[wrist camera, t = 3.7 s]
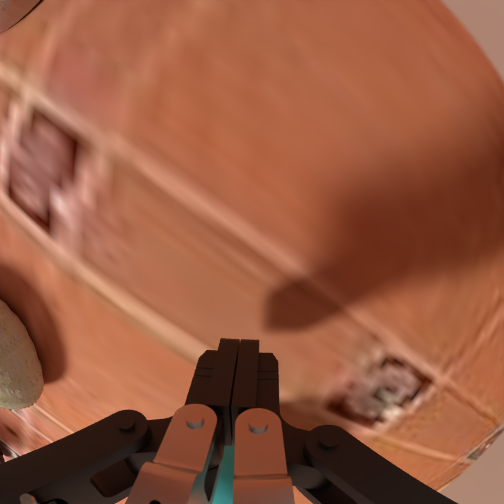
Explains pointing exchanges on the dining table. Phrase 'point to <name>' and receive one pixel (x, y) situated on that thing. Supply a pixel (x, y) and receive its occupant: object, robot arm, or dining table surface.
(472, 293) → the dining table surface
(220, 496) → the ball
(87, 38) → the dining table surface
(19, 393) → the sea urchin shell
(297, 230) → the dining table surface
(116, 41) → the dining table surface
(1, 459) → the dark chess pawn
